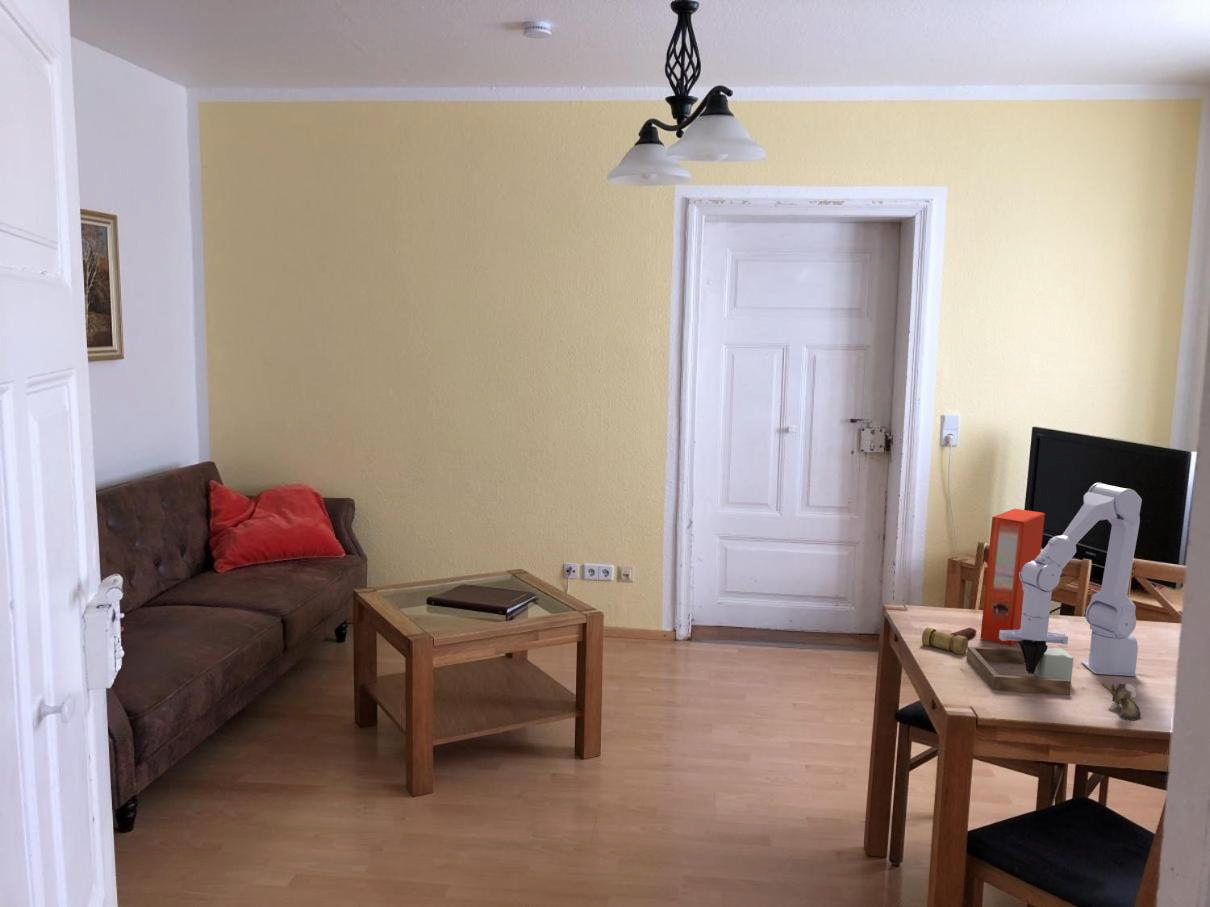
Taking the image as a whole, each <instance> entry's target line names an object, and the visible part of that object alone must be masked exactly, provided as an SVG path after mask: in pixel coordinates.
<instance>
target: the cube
mask: <svg viewBox="0 0 1210 907" xmlns="http://www.w3.org/2000/svg"><path fill="white" fill-rule="evenodd" d="M1073 666H1074V657H1073V656H1072V654H1070V653H1068V652H1067V651H1066V650H1065V649H1063V648H1054V647H1053V648H1052V647H1051V648H1050V647H1047V651H1046V652H1045V653H1044V654H1043V655H1042V657H1041V659H1040V660H1039V662H1038V664H1037V667H1036V669H1035V672H1034V674H1035V675H1036V676H1037V677H1039V678H1055V679H1069V680H1070V681H1071V682H1072V678H1073V677H1072V676H1073V675H1072V674H1073Z"/></svg>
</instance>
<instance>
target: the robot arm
mask: <svg viewBox="0 0 1210 907" xmlns="http://www.w3.org/2000/svg"><path fill="white" fill-rule="evenodd" d="M1142 501H1143V498H1141V496H1140V495H1139V494H1138V493H1137V491H1136V490H1134V489H1131V488H1124V487H1119V486H1115V485H1109V484H1106V483H1102V482H1096V483H1094V484H1092V485H1091V486H1090V487H1089V489H1088V491H1086V492H1085V494H1083V505H1081V507H1080V509H1079V510H1078V511H1077V513H1076V515H1075V516H1074V517H1073V519H1072V520H1071V521H1070V523H1069V524H1068V526H1067V528H1066V529H1065V530H1064V532H1063V533H1062V534H1061V535H1055V536H1053V537H1052V538H1049V540H1048V541H1047V544H1046V546H1044V548H1043V549H1041V553H1040V554H1039V555H1038V556H1037V557H1036V559H1035V560H1034V561H1031V562H1028V563H1026V564H1025V565H1024V566H1023V568H1022V570H1021V572H1019V577H1020V580H1021V582H1022V584H1023V586H1022V589H1023V591H1024V595H1023V606H1022V617H1021V628H1020V630H1000V632H999V639H1000V640H1002V641H1006V640H1013V641H1017V643H1018V644H1019V646H1020V649H1021V650H1022V653H1023V656H1024V660H1025V663H1024V665H1025V671H1026V672H1027V674H1030V675H1031V674H1033V675H1034V674H1035V673H1034V672H1035V669H1036V667H1037V664H1038V662H1039V660H1040V659H1041V657H1042V655H1043V654H1044V653H1045V652H1046V651H1047V648H1049V647H1048V645H1047V643H1049V644H1050V643H1051V644H1061V645H1068V643H1069V642H1068V641H1069V636H1068V635H1067V634H1066V633H1058V632H1057V633H1056V632H1051V631H1049V625H1050V624H1049V623H1050V614H1051V602H1052V593H1053V590H1054V589H1055V588H1056V587H1057V586H1058V585H1059V583H1060V580H1061V575H1062V574H1063V569H1064V568H1065V567H1066V566H1067V564H1068V563H1069V562H1070V561H1071V560H1072V558H1073V557H1074V556H1075V554H1076V553H1077V544H1078V543H1079V541H1081V539H1082V538H1084V536H1086V534H1087V533H1088V532H1089V531H1090V530H1091V529H1093V527H1094V526H1095V525H1096V524H1097V523H1098V522H1099V521H1104V520H1107V521H1108V523H1110V524H1111V530H1110V534H1109V541H1108V547H1107V553H1106V558H1105V565H1104V570H1103V577H1102V583H1101V588H1100V590H1099V591H1097V592H1095V593H1094V594H1092V595H1091V597H1090V598H1091V599H1090V601H1089V604H1088V606H1087V608H1086V610H1085V615H1084V616H1085V620H1086V622H1087V623H1088V624H1089V629H1090V630H1091V635H1090V643H1089V644H1090V645H1089V654H1088V660H1081V664H1083V666H1085V667H1086V668H1088V670H1090V671H1091V672H1092V673H1093V674H1096V675H1107V676H1109V675H1111V676H1126V677H1127V676H1128V677H1137V676H1138V674H1137V673H1136V672H1137V671H1136V670H1137V662H1138V660H1137V659H1138V651H1139V648H1138V646H1139V644H1138V641H1137V639H1136V637H1135V635H1133V632H1134V630H1135V629H1136V626H1137V617H1136V608H1137V606H1136V605H1135V603H1134V602H1133V600H1132V599H1131V598H1130V597H1129V595H1128V592H1129V587H1130V580H1131V575H1132V568H1133V565H1134V564H1133V563H1134V558H1135V557H1134V556H1135V551H1136V545H1137V540H1138V534H1139V529H1140V523H1141V520H1140V519H1141V518H1140V517H1141V516H1140V513H1141V507H1142V503H1143V502H1142Z"/></svg>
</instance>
